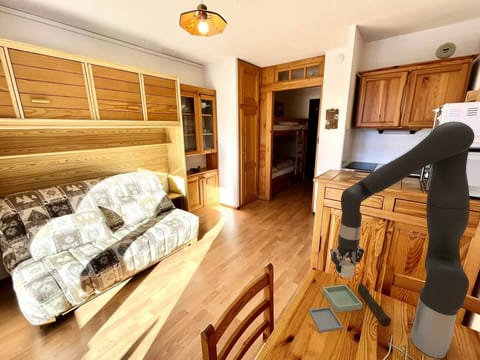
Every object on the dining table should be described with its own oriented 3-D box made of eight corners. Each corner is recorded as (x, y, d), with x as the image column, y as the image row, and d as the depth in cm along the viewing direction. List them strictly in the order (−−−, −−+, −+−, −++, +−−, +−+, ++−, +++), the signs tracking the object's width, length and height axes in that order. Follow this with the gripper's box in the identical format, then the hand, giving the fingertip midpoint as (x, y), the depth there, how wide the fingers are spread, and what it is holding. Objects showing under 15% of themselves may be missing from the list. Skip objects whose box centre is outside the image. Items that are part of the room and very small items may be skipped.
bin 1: (329, 309, 88) (330, 306, 87) (343, 329, 79) (343, 326, 78) (308, 312, 86) (309, 309, 86) (319, 333, 78) (320, 330, 77)
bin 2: (345, 289, 98) (346, 284, 97) (361, 309, 87) (362, 304, 86) (322, 292, 96) (323, 287, 96) (336, 313, 86) (337, 307, 85)
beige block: (346, 268, 91) (347, 258, 90) (353, 276, 86) (355, 266, 85) (335, 270, 90) (336, 259, 89) (342, 278, 86) (343, 267, 84)
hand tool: (391, 326, 80) (392, 316, 79) (380, 326, 80) (381, 316, 79) (364, 289, 98) (365, 281, 97) (355, 289, 98) (356, 281, 97)
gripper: (338, 240, 79) (333, 279, 84) (372, 237, 81) (366, 275, 85) (327, 231, 87) (324, 267, 91) (359, 228, 88) (354, 263, 93)
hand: (344, 270), depth 88 cm, fingers closed on beige block, 5 cm apart
